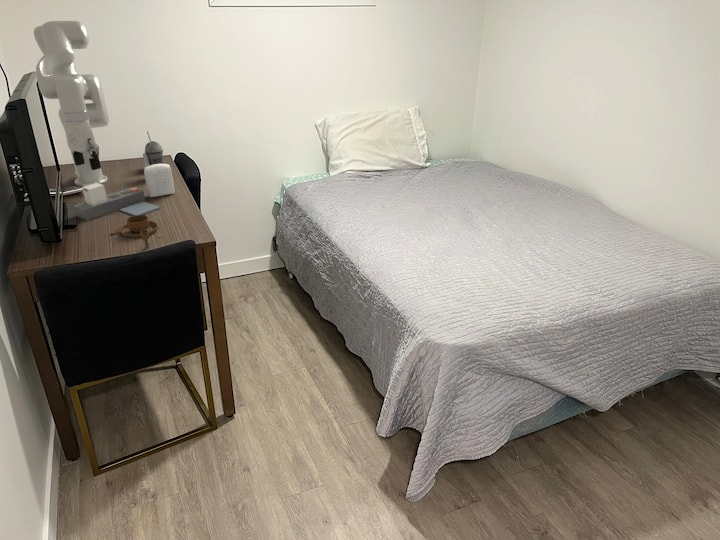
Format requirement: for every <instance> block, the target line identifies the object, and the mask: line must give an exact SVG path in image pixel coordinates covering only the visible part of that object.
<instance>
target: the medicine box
mask: <svg viewBox="0 0 720 540" xmlns="http://www.w3.org/2000/svg"><path fill="white" fill-rule="evenodd" d="M142 156H143V162H144V168H146V167H148V166H149V162H148V158H147V156H146V153H145V151H144V152H143V153H142Z"/></svg>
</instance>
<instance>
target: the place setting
mask: <svg viewBox="0 0 720 540" xmlns="http://www.w3.org/2000/svg"><path fill="white" fill-rule="evenodd" d="M151 225H152V227H154V228H153V229H152V230H150V231H149V229H148V228H149V226H151ZM158 227H159V225H158V223H157V222H156V221H152V220H149V217H148V216H147V215H146V214H144V215H136V216H133V215H130V217H127V218H126V219H125V224H124V225H122V226H119V227H118V228H117V229H116V230H113V231H111V232H110V235H116V234H117V233H118V231H119V232H120V234H121V235H122V236H123V237H126V238H131V239H132V238H133V239H134V238H141V239H142V240H143V241H144V245H145V246H144V247H145V248H146V249H148V248H150V246H149V241H148V240H149V239H150V235H152V234H154V233H156V232H157V230H158V229H159V228H158ZM126 230H129V231H131V232H133V233H134V234H133V233H125V231H126ZM159 238H162V236H159Z"/></svg>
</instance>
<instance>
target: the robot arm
mask: <svg viewBox="0 0 720 540" xmlns="http://www.w3.org/2000/svg"><path fill="white" fill-rule="evenodd" d="M33 36H34V40H35V42H36V44H37V46H38V48H39V50H40V51H41V53H42V54H43V56H41V58H39V60H38V62H37V64H36V67H35V75H36V80H37V84H38V89H39V92H40V94H41V95H42V96H43V97H44V98H46V99H48V100H56V99H57V100H58V103H59V107H60V108H59V110H58V118H59V120H60V123H61V125H62V127H63V130H64V133H65V138H66V142H67V146H68V147H67V148H69V149H70V150H69V151H70V154H71V156H72V157H71V158H72V161H73V165H74V169H75V171H74V174H75V175H76V177H77V178H76V179H74V184H75V185H76V186H79V187H84V186H88V185H91V184H95V183H99V184H102V185H103V184H105V183H106V182H107V181H108V176H107V175H104V174H103V171H102V166H101V161H100V158H99V157H100V146H99V145H98V144H97V143H96V139H95V136H94V132H93V129H95V128H96V129H97V128H105V127H108V125H109V123H110V118H109V113H108V110H107V109H108V108H107V105H106V100H105V96H104V93H103V92H104V91H103V88H102V85H101V84H102V83H101V82H100V80H99V78H98V77H97V76H96V75H94V74H91V73H89V74H88V73H86V74H85V73H83V74H78V72H77V69H76V64H75V54H74V50H83V49H87V47H88V45H89V41H90V39H89V34H88V31H87V28H86V26H85V25H84V24H83V23H82V22H80V21H77V20H52V21H51V20H50V21H46V22H44V23H43V24H42V25H39V26H36V27H34V29H33ZM86 101H91V102H89V103H88V102H87V103H86Z"/></svg>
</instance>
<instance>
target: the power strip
mask: <svg viewBox="0 0 720 540" xmlns="http://www.w3.org/2000/svg"><path fill="white" fill-rule="evenodd" d="M106 196H107V200H108V202H105V203H101V204H98V205H95V206H91V205H88V204H86V201H84V202H80V203H77V204H73V205H72V206H73V212H74V215H75V214H76V215H77V216H78V217H77V216H76V215H75V216H76V217H77V218H79V217H80V218H79V219H82V220H84V219H85V221H90V220H94V219H96V218H98V217H102V216H105V215H107V214H110V213H114V212H116V211H120V209H123V208H126V207H129V206H131V205H134V204H137V203H140V202H142V201H143V202H145V201H146V196H145V192H144V190H142V189H139V188H138V187H133V186H132V187H129V188H125V189H122V190H119V191H116V192H113V193H110V194H106Z"/></svg>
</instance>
